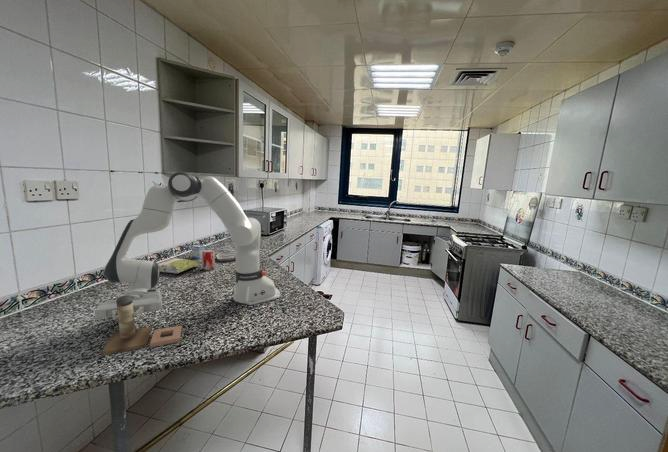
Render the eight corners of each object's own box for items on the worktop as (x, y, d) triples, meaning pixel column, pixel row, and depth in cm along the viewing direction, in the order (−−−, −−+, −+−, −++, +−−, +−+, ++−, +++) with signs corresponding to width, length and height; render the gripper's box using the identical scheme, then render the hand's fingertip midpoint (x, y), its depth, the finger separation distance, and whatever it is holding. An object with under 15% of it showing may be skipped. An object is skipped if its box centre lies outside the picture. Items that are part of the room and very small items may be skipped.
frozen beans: (178, 267, 158) (142, 263, 163) (179, 277, 159) (142, 273, 164) (202, 258, 178) (169, 255, 183) (203, 267, 179) (170, 263, 184)
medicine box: (191, 257, 197) (190, 245, 195) (196, 256, 201) (196, 244, 199) (199, 259, 194) (199, 247, 192) (205, 257, 198) (204, 245, 196)
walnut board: (152, 329, 107) (151, 326, 106) (145, 347, 96) (145, 344, 96) (113, 335, 102) (113, 332, 102) (102, 355, 91) (101, 352, 91)
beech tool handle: (137, 330, 101) (133, 294, 99) (134, 336, 97) (130, 299, 95) (122, 332, 100) (118, 296, 97) (118, 339, 96) (114, 301, 93)
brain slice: (240, 262, 191) (240, 257, 191) (214, 263, 186) (214, 259, 186) (241, 254, 210) (241, 250, 209) (217, 255, 205) (217, 251, 204)
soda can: (210, 271, 171) (209, 252, 169) (200, 270, 172) (199, 251, 170) (217, 267, 178) (216, 249, 175) (207, 266, 179) (206, 248, 177)
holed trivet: (182, 328, 108) (181, 325, 108) (179, 341, 100) (179, 337, 99) (154, 333, 104) (154, 329, 104) (150, 347, 96) (149, 343, 96)
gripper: (101, 296, 104) (86, 313, 92) (164, 288, 112) (158, 303, 100) (103, 311, 105) (88, 330, 93) (165, 303, 113) (159, 319, 101)
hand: (125, 316), depth 96 cm, fingers closed on beech tool handle, 4 cm apart
